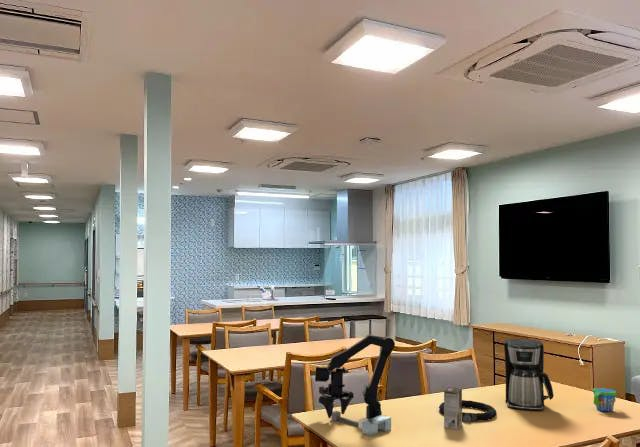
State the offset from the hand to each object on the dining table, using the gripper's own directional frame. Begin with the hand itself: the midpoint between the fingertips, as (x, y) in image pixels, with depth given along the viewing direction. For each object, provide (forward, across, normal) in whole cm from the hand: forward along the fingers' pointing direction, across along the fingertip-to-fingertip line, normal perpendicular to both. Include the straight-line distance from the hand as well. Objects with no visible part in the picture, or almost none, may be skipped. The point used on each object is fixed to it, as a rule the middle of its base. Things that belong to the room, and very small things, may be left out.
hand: (336, 416), depth 249 cm
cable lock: (+2, -55, +38) cm, 67 cm away
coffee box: (+2, -32, +43) cm, 53 cm away
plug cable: (+2, 0, +9) cm, 9 cm away
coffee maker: (+2, -97, +52) cm, 110 cm away
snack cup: (+2, -114, +84) cm, 141 cm away
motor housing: (+2, 0, +24) cm, 24 cm away
